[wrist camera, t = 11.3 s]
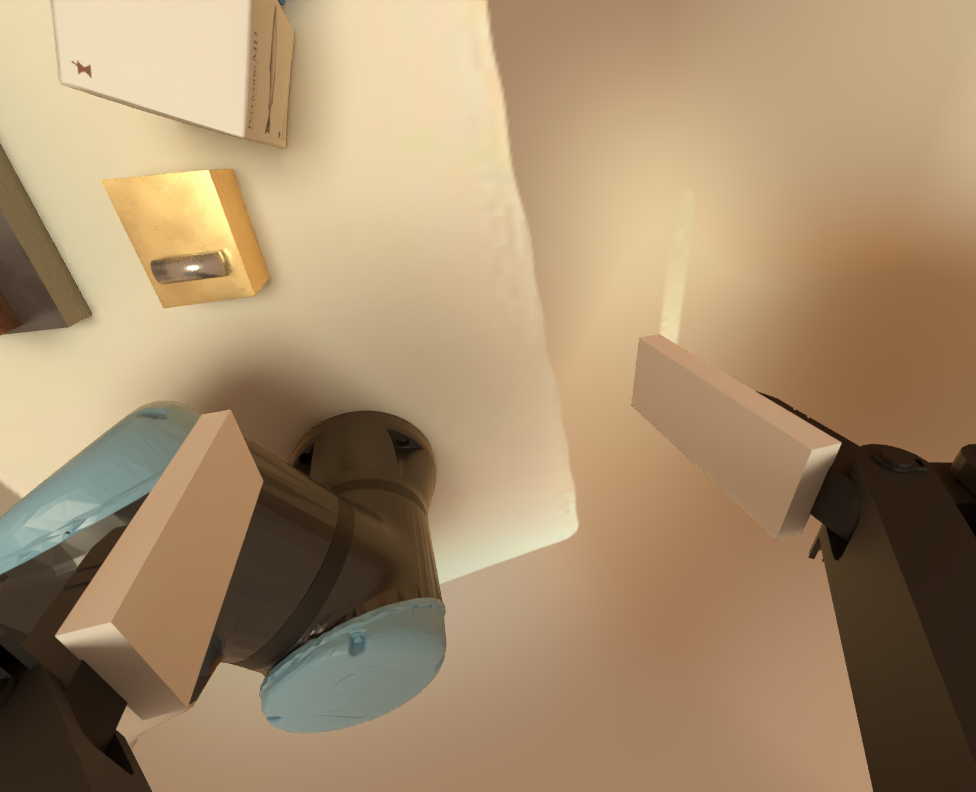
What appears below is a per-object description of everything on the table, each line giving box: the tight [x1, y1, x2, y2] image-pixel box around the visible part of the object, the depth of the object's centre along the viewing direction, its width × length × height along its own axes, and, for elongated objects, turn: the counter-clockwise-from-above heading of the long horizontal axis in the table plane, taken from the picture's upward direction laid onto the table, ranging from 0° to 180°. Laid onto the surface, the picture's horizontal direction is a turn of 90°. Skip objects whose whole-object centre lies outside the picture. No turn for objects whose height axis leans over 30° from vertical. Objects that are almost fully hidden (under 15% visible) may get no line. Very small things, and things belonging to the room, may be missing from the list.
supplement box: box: [50, 0, 295, 149], centre depth 23 cm, size 7×7×13 cm
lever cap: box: [101, 169, 270, 308], centre depth 29 cm, size 8×6×7 cm
